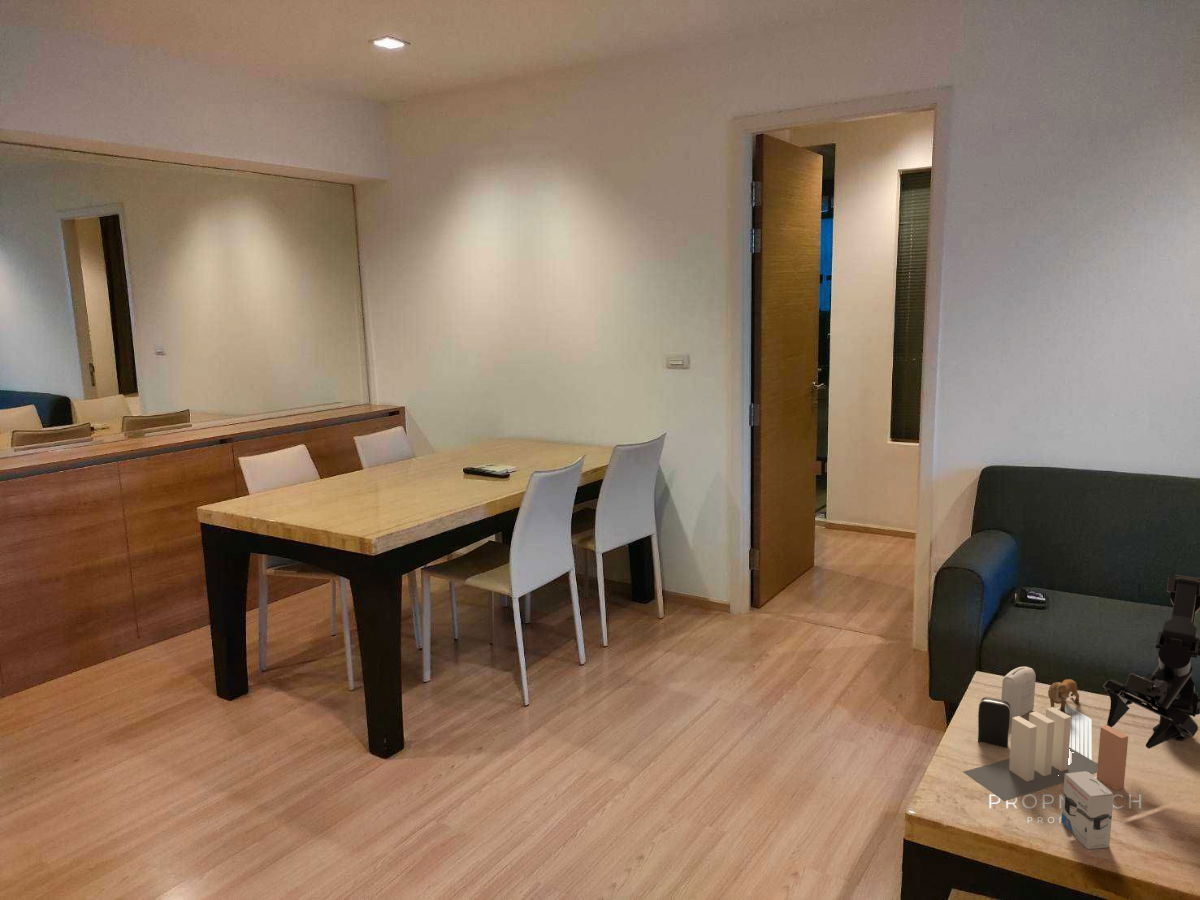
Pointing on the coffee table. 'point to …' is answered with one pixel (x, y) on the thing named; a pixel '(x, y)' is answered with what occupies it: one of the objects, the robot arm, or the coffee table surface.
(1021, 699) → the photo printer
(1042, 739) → the ivory domino
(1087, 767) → the domino mat
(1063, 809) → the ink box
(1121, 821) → the coffee table surface
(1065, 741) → the ivory domino
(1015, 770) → the ivory domino
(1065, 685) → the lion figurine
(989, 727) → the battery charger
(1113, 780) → the terracotta domino
